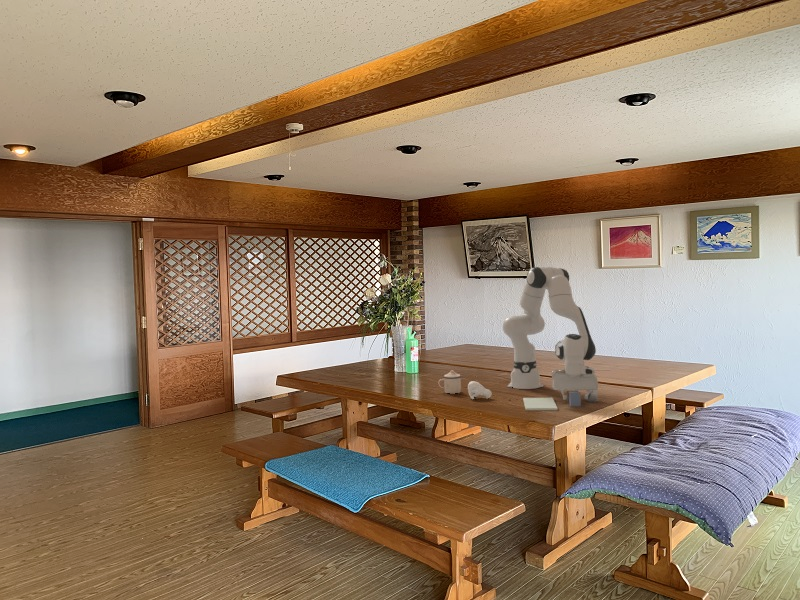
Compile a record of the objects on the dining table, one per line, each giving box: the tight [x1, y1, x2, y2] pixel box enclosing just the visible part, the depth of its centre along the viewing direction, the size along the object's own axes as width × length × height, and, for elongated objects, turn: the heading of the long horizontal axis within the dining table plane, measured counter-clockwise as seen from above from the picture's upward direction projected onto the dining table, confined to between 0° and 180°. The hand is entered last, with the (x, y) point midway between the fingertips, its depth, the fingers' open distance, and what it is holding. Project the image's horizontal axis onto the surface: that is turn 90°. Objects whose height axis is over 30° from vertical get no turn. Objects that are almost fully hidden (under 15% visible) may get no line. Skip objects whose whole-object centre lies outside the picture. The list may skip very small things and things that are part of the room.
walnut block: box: [566, 390, 579, 404], centre depth 282 cm, size 5×5×5 cm
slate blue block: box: [568, 391, 582, 407], centre depth 276 cm, size 4×4×6 cm
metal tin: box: [586, 388, 599, 403], centre depth 282 cm, size 5×5×7 cm
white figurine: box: [467, 380, 493, 400], centre depth 298 cm, size 6×8×12 cm
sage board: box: [522, 397, 558, 411], centre depth 279 cm, size 22×14×1 cm, turn 171°
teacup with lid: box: [437, 370, 462, 395], centre depth 315 cm, size 12×9×12 cm
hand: (575, 399), depth 275 cm, fingers open, 8 cm apart
